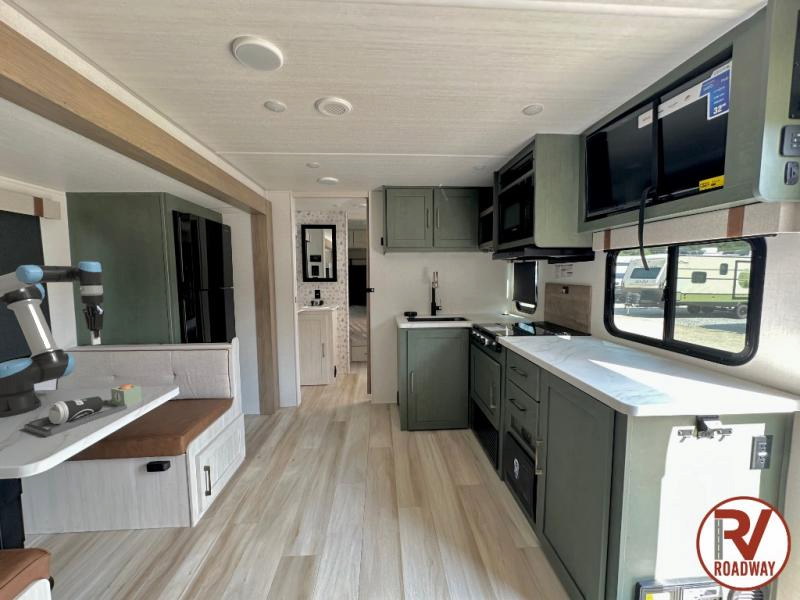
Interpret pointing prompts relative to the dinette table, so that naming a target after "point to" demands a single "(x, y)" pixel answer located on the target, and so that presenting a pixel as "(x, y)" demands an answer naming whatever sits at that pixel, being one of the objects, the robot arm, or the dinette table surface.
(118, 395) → the cabinet
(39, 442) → the dinette table surface
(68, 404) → the coffee cup
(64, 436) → the dinette table surface
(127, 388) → the egg
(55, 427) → the gray rectangular frame
